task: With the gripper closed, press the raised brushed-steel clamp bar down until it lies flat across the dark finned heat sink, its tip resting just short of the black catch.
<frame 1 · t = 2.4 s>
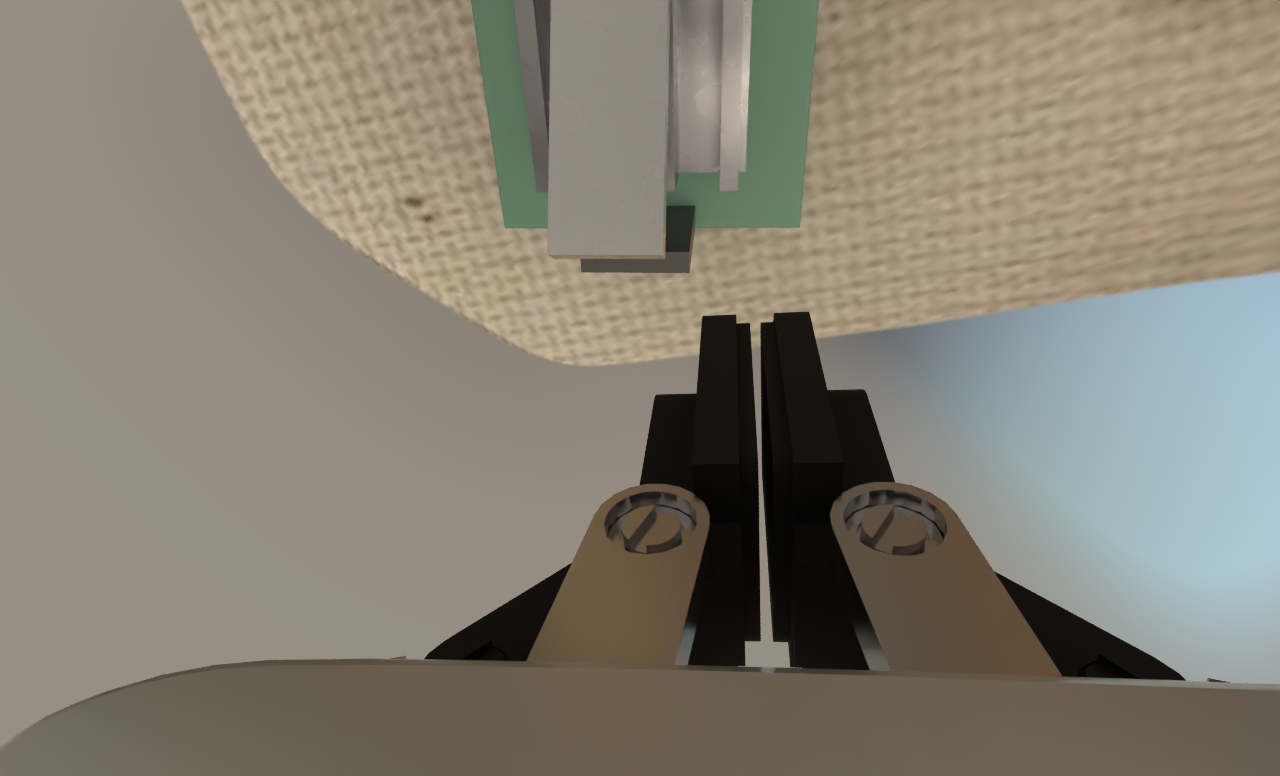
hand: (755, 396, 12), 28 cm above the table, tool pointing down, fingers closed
clamp bar: (610, 24, 24), point 11 cm above the table, hinge at 30.0°
heat sink board: (644, 16, 34), on the table
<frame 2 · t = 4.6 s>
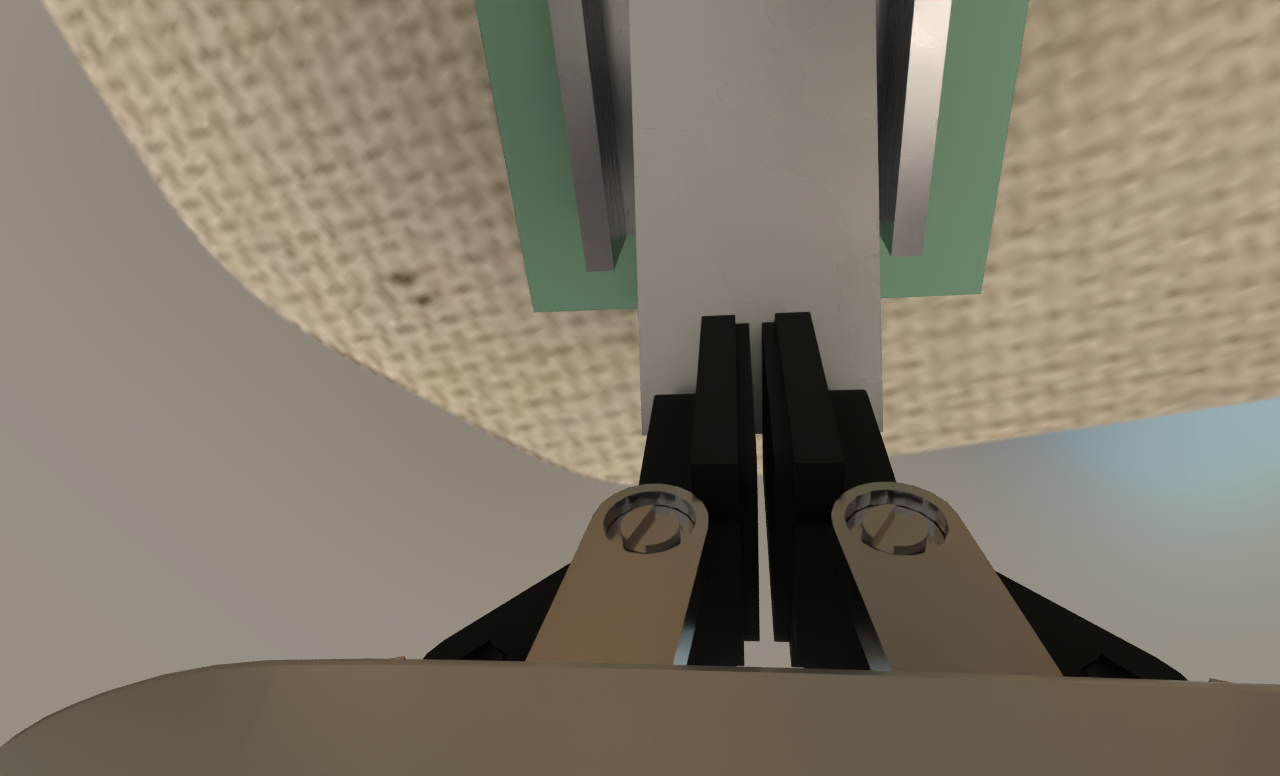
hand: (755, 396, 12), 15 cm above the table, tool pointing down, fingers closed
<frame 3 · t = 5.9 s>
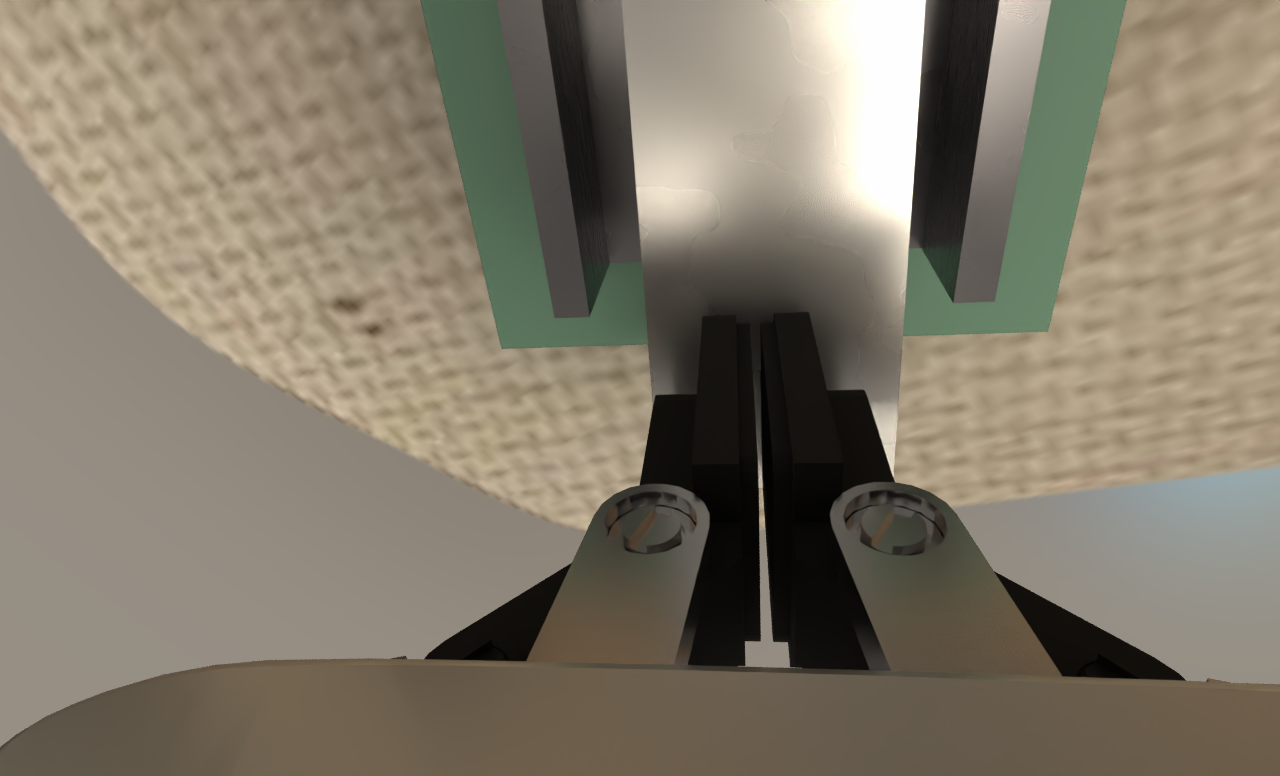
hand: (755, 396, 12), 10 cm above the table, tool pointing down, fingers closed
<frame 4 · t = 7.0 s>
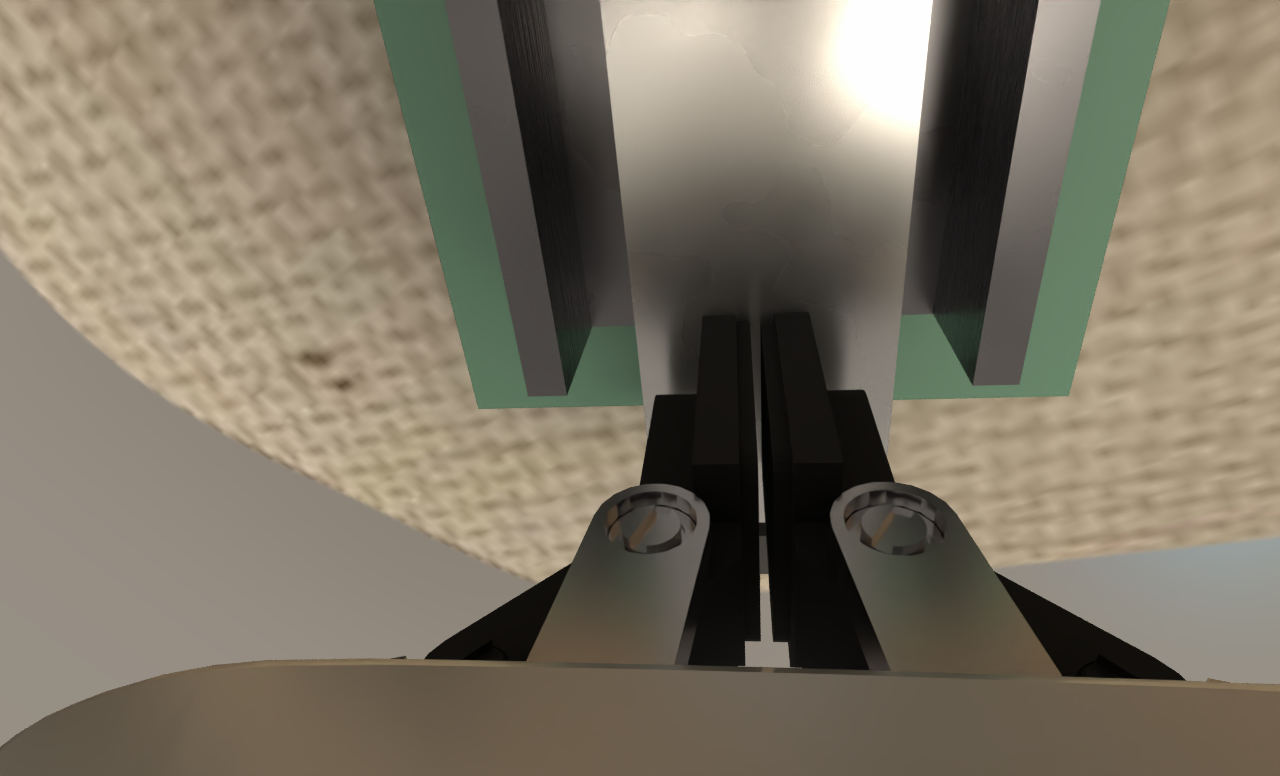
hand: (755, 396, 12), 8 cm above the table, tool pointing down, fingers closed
clamp bar: (761, 31, 9), point 8 cm above the table, hinge at 1.1°, touching gripper
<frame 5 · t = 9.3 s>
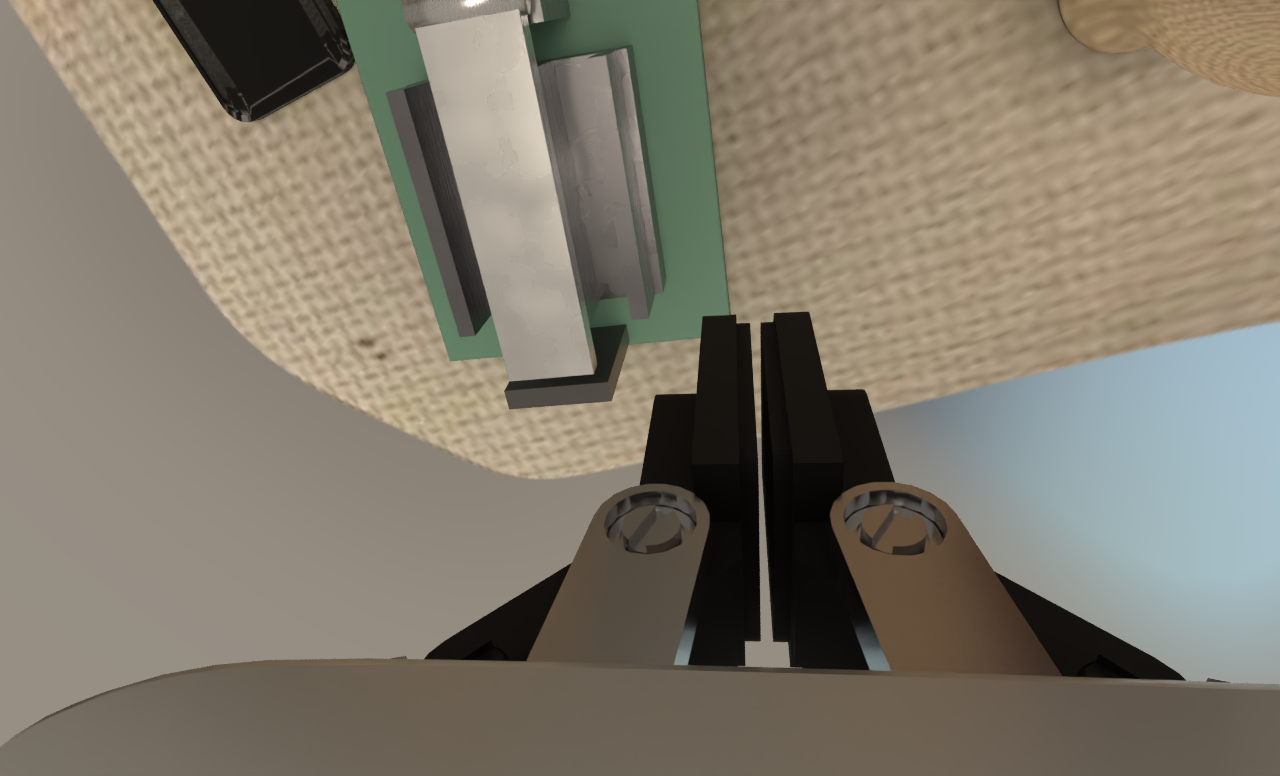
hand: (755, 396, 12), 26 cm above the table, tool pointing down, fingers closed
clamp bar: (513, 201, 29), point 8 cm above the table, hinge at 1.0°
heat sink board: (553, 157, 36), on the table
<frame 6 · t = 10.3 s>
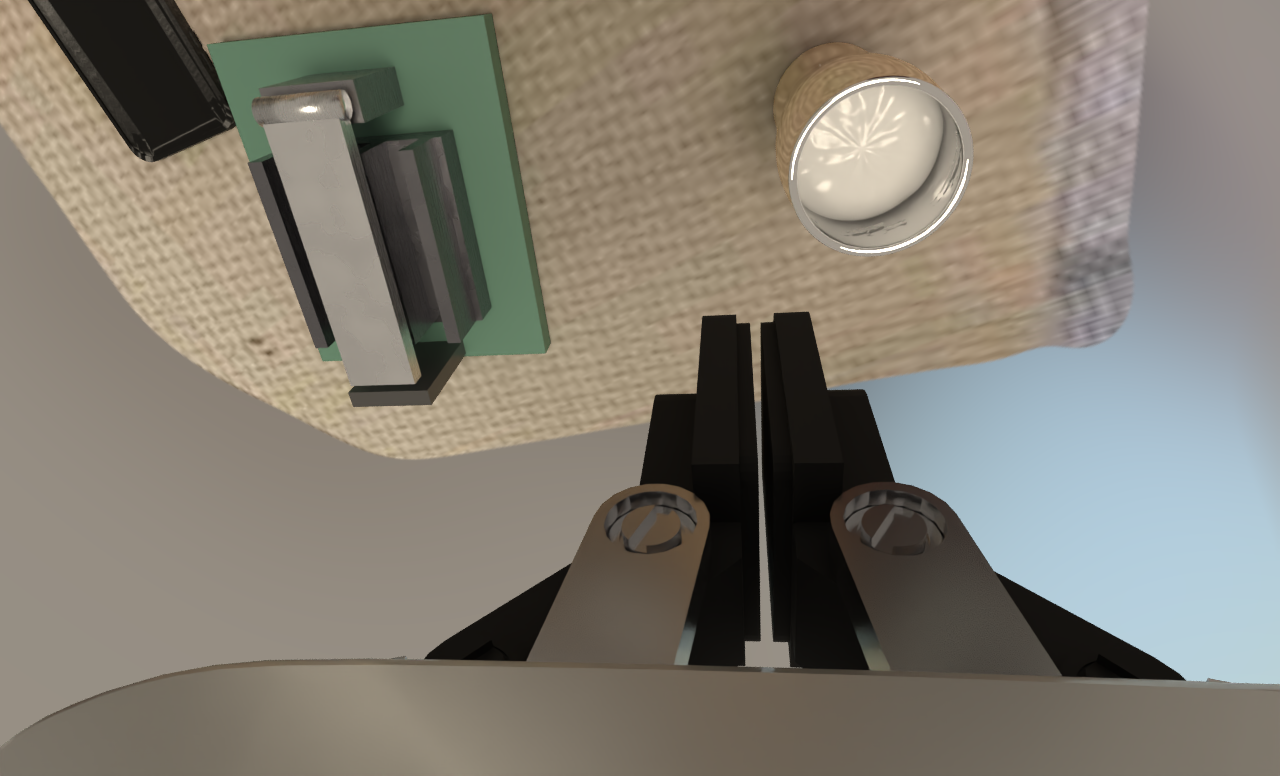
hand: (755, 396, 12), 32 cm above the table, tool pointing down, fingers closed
clamp bar: (346, 251, 38), point 8 cm above the table, hinge at 1.0°
beer glass: (828, 102, 39), on the table
phone: (123, 14, 41), on the table
heat sink board: (401, 205, 44), on the table
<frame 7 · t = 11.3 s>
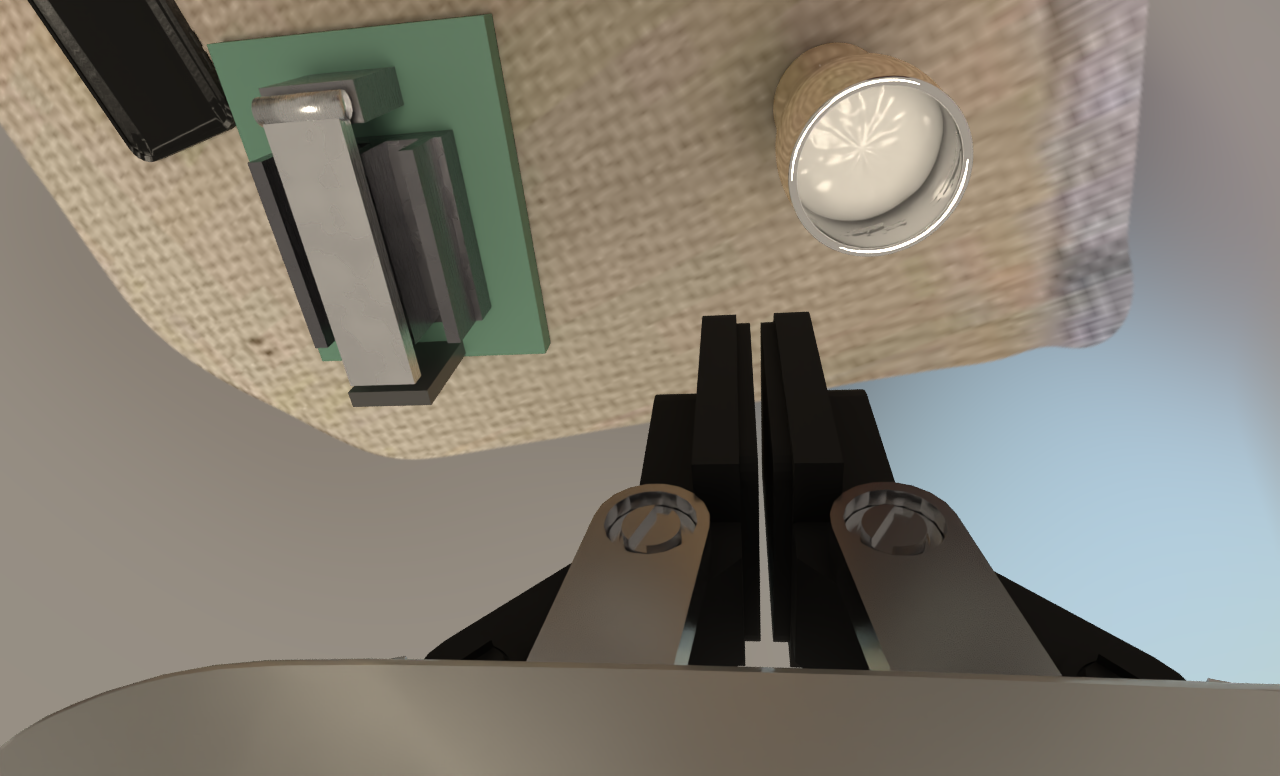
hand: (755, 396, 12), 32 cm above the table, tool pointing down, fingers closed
clamp bar: (346, 251, 38), point 8 cm above the table, hinge at 1.0°
beer glass: (828, 102, 39), on the table
phone: (123, 14, 41), on the table
heat sink board: (401, 205, 44), on the table
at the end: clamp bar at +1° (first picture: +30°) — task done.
